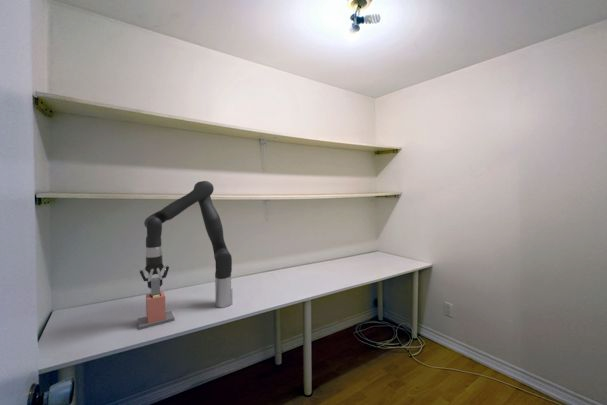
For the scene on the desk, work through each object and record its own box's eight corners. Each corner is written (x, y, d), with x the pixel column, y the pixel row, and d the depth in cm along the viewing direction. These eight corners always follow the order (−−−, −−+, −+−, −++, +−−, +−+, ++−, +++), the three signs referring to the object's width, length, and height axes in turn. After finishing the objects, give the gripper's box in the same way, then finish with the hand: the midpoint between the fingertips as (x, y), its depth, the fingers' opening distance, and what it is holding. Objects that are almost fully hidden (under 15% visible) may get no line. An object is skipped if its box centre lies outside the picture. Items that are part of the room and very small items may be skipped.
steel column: (159, 310, 146) (158, 277, 145) (160, 313, 143) (159, 279, 141) (151, 312, 144) (150, 278, 142) (152, 316, 140) (150, 281, 139)
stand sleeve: (171, 313, 152) (170, 287, 151) (174, 320, 144) (173, 293, 143) (137, 321, 143) (136, 293, 142) (139, 329, 135) (138, 300, 134)
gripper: (168, 251, 148) (168, 282, 149) (137, 255, 140) (138, 287, 141) (170, 254, 142) (171, 286, 143) (138, 258, 134) (139, 292, 135)
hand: (155, 286), depth 142 cm, fingers closed on steel column, 4 cm apart
